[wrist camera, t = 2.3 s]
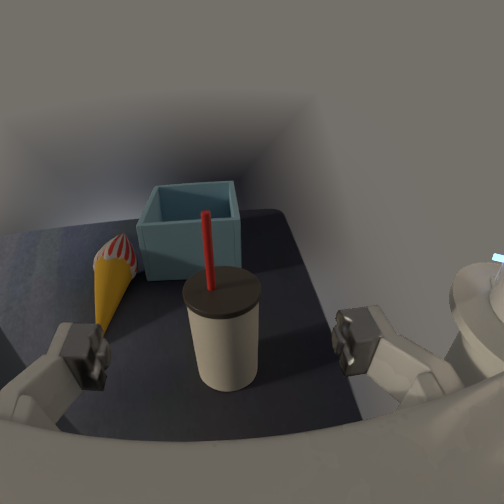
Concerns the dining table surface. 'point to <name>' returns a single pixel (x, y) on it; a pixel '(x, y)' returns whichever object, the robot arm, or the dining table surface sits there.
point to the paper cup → (223, 319)
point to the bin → (188, 229)
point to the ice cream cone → (112, 276)
